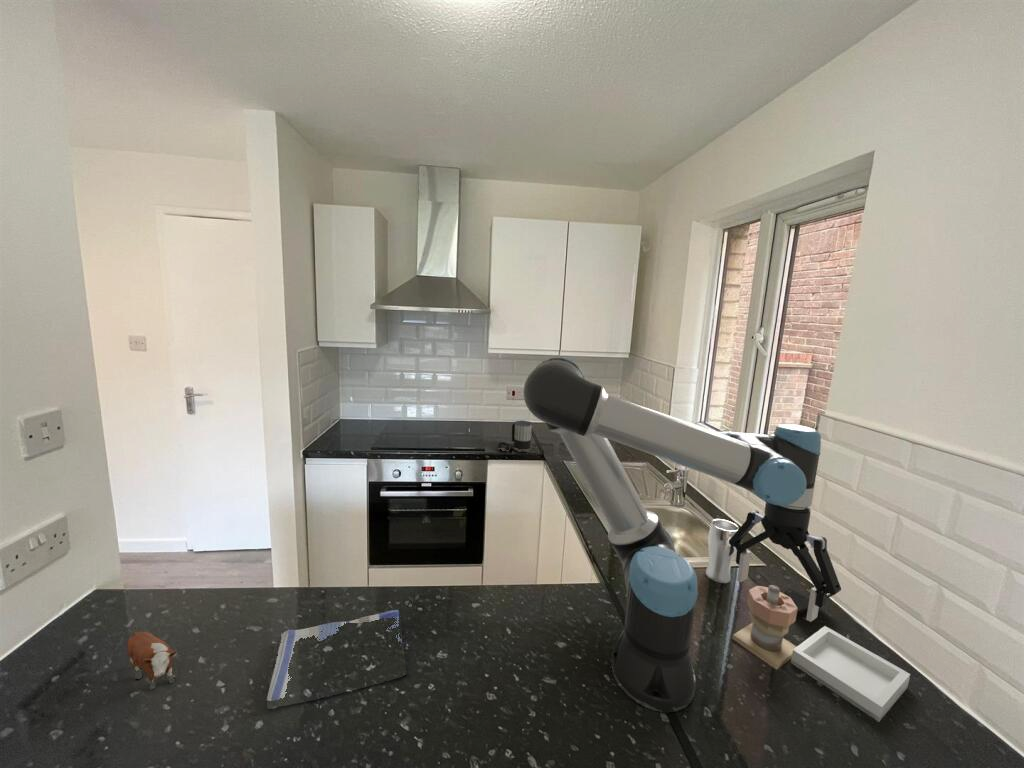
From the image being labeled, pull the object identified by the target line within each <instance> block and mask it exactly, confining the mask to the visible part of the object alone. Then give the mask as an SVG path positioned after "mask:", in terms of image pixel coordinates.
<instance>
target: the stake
mask: <svg viewBox="0 0 1024 768" xmlns="http://www.w3.org/2000/svg"><path fill="white" fill-rule="evenodd" d="M767 587H768V593H767V600H766V601H767V602H768V603H770V604H772V605H778V599H779V593H780V592H781V589H780V588H779V586H777V585H773V584H768V586H767ZM732 640H733V641H734V642H737V643H738V644H739V645H741V646H742V647H743V648H745V649H746V650H748V651H749V652H750V653H752V654H753V655H755V656H757V658H759V659H760V660H762V661H763V662H765V663H766V664H767V665H769V666H770V667H772V668H773V669H774V670H778V669H780V668H781V667H782V666H784V665H785V664H786V663H788V662H789V661H791V658H792V652H793V649H795V648H796V647H797V646H798V645H795V644H793V643H791V641H789V640H787V639H785V638H784V636H782V637H778V636H773V635H768V634H766V633H764V632H763V631H761V630H760V629H758V628H757V627H755V626H754V625H753V623H752V622H751V623H749V624H748V625H746V626H745V627H743V628H742V629H740V630H739V631H738V630H737V632H735V633H734V634H732Z"/></svg>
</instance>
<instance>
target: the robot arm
mask: <svg viewBox="0 0 1024 768" xmlns="http://www.w3.org/2000/svg"><path fill="white" fill-rule="evenodd" d="M523 398H524V399H523V400H524V403H525V405H526V407H527V408H528V410H529V412H530V413H531V414H532V415H533V416H534V417H535V418H536V419H538V420H539V421H542V422H543V423H545V425H546V426H547V428H548V430H549V431H550V432H553V433H555V434H556V433H557V434H559V435H560V437H561V440H562V441H563V443H564V444H565V447H566V448H567V451H569V454H570V455H571V457H572V459H573V461H574V463H575V465H576V467H577V468H578V470H579V472H580V474H581V476H582V478H583V479H584V481H585V483H586V485H587V487H588V489H589V490H590V493H591V494H592V497H593V498H594V500H595V503H596V504H597V505H598V508H599V510H600V511H601V513H602V515H603V516H604V518H605V520H606V522H607V524H608V525H609V530H608V534H607V537H608V541H610V545H612V547H613V549H614V551H615V553H616V555H617V557H618V559H619V561H620V563H621V566H622V569H623V576H624V581H625V583H624V584H625V588H626V604H625V605H626V607H625V616H624V627H623V630H622V632H621V633H620V636H619V638H618V639H617V641H616V643H615V645H614V647H613V649H612V654H611V661H612V667H613V670H614V673H615V675H616V677H617V678H618V680H619V682H620V683H621V684H622V686H623V687H624V688H625V689H626V690H627V691H628V692H629V693H630V694H631V695H632V696H633V697H635V698H636V699H638V700H640V701H642V702H645V703H647V704H649V705H650V706H652V707H654V708H656V709H658V710H661V711H663V712H662V713H665V714H667V713H668V714H670V713H669V711H670V709H671V708H672V707H675V708H677V707H681V706H685V705H687V704H688V703H689V702H691V700H692V699H693V700H694V698H693V697H695V694H694V693H695V692H696V686H697V683H696V682H697V680H696V678H697V677H696V675H695V674H696V673H695V670H694V667H693V663H692V659H691V653H690V647H691V646H690V645H691V640H692V631H693V624H694V616H695V609H696V604H697V603H696V602H697V599H698V590H699V589H698V578H697V576H698V575H697V574H696V571H695V569H694V567H693V566H692V564H691V563H690V562H689V561H688V559H686V558H685V557H683V556H680V554H679V553H678V552H677V551H676V548H675V545H674V541H673V540H672V539H673V538H672V537H671V535H670V533H669V532H668V531H667V529H665V527H664V526H663V524H662V522H661V521H660V519H659V517H658V515H657V514H656V513H655V512H653V511H650V510H647V509H646V507H645V506H644V503H643V502H642V500H641V498H640V496H639V495H638V492H637V491H636V489H635V487H634V486H633V483H632V481H631V480H630V478H629V475H628V474H627V472H626V470H625V468H624V467H623V465H622V463H621V461H620V459H619V457H618V455H617V454H616V452H615V449H614V447H613V446H612V444H611V442H610V441H613V442H615V443H619V444H621V445H625V446H627V447H630V448H633V449H635V450H639V451H641V452H642V453H643V452H644V453H647V454H649V455H652V456H654V457H657V458H659V459H663V460H666V461H669V462H671V463H675V464H677V465H680V466H683V467H686V468H688V469H691V470H694V471H696V472H699V473H702V474H705V475H707V476H711V477H713V478H716V479H719V480H721V481H723V482H724V481H725V482H728V483H730V484H733V485H735V486H738V487H740V488H743V489H746V490H749V491H751V492H754V494H756V496H758V497H759V498H760V499H762V500H764V501H765V507H764V515H762V514H760V512H759V510H756V509H754V510H752V511H750V512H748V513H747V514H746V515H747V516H746V519H745V521H744V522H743V523H742V524H741V526H740V527H739V529H738V531H737V532H736V533H735V534H734V535H733V536H732V538H731V539H730V540H729V544H730V545H733V546H734V547H735V548H736V554H735V555H736V556H735V563H736V564H737V565H738V571H737V572H738V573H737V577H736V578H737V579H736V580H737V581H738V582H740V583H742V582H744V581H746V580H747V579H748V576H749V569H750V568H749V567H750V562H751V561H750V560H751V553H752V552H751V551H750V550H748V549H750V548H751V547H753V546H755V545H757V544H759V543H762V542H763V541H765V540H767V539H769V540H770V541H771V543H772V544H774V545H779V546H781V547H782V548H784V549H786V550H791V552H792V553H793V555H794V556H795V557H796V558H797V559H798V561H799V563H800V564H801V566H802V567H803V569H804V571H805V573H806V574H807V576H808V578H809V579H810V581H811V583H812V585H813V586H814V587H812V588H811V589H810V594H809V598H808V599H809V605H808V610H806V611H807V612H806V617H805V618H806V621H808V622H810V623H811V622H812V621H814V620H816V619H817V618H818V614H819V610H820V609H821V608H823V607H824V606H825V605H826V604H827V599H826V598H827V595H828V594H831V595H833V596H835V595H836V594H837V593H840V592H841V591H842V587H841V584H840V582H839V579H838V577H837V573H836V571H835V568H834V566H833V563H832V560H831V558H830V555H829V552H828V541H827V538H826V537H825V536H819V537H818V536H814V535H812V534H810V533H809V526H810V525H809V524H810V517H811V513H812V509H811V506H812V504H813V499H814V491H815V483H816V479H817V472H818V466H819V459H820V456H821V444H822V442H821V441H822V437H821V436H822V435H821V433H820V432H819V430H816V429H814V428H812V427H808V426H805V425H800V424H791V423H790V424H789V423H785V424H783V423H782V424H778V425H777V426H775V429H774V432H773V434H761V433H749V432H748V433H747V432H738V431H737V432H736V431H731V430H728V431H714V430H711V429H708V428H705V427H702V426H700V425H697V424H694V423H692V422H688V421H686V420H683V419H680V418H677V417H674V416H671V415H669V414H665V413H663V412H659V411H656V410H654V409H652V408H648V407H646V406H642V405H639V404H636V403H633V402H631V401H628V400H625V399H623V398H619V397H617V396H614V395H611V394H609V393H607V392H606V390H605V388H604V386H603V385H599V384H596V383H595V382H593V381H592V382H591V381H590V380H588V379H585V375H584V373H583V371H582V369H581V368H580V367H579V366H578V365H577V364H576V363H574V362H573V361H572V360H569V359H567V358H564V357H553V358H549V359H546V360H543V361H542V362H541V363H539V364H538V365H537V366H536V367H535V368H534V369H533V370H532V371H531V372H530V373H529V375H527V378H526V380H525V381H524V386H523ZM609 440H610V441H609ZM760 522H761V525H762V527H763V529H764V531H762V532H761V533H759V534H757V535H756V536H754V537H751V538H750V539H748V540H747V541H745V542H743V541H742V540H744V538H745V537H746V536H747V534H748V533H750V531H751V530H752V529H753V527H754V526H755V525H756V524H759V523H760ZM806 542H808V543H809V544H810V547H811V548H812V549H813V555H814V556H815V559H816V562H817V563H816V562H815V560H814V558H813V556H812V555H811V553H810V552H809V551H810V550H809V548H808V546H807V545H806ZM819 608H820V609H819ZM691 703H692V702H691Z"/></svg>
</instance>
